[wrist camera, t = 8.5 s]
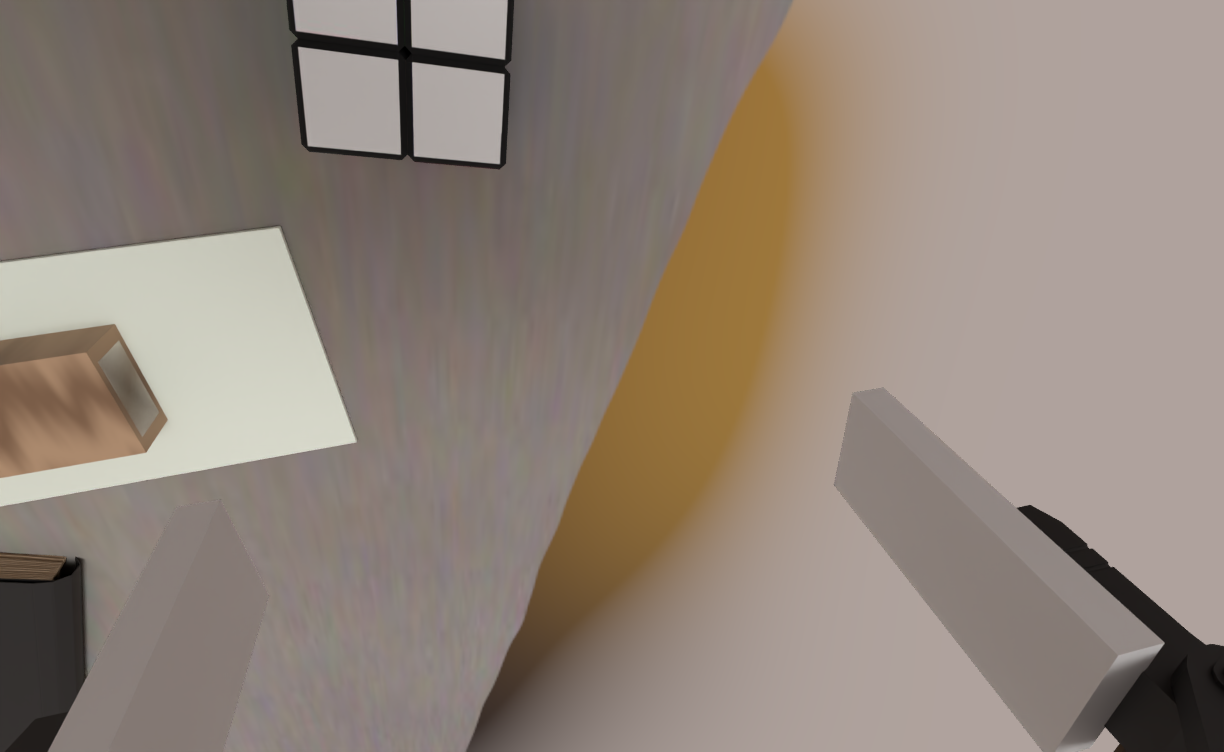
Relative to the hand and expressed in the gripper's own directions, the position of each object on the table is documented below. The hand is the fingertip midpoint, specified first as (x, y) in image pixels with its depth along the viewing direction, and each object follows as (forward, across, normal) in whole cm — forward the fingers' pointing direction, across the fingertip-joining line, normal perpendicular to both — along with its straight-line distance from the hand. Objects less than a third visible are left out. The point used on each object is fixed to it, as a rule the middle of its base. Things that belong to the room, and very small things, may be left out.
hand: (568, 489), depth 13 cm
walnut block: (+32, -26, -13) cm, 43 cm away
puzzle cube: (+34, -3, +7) cm, 35 cm away
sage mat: (+34, -29, -13) cm, 46 cm away
